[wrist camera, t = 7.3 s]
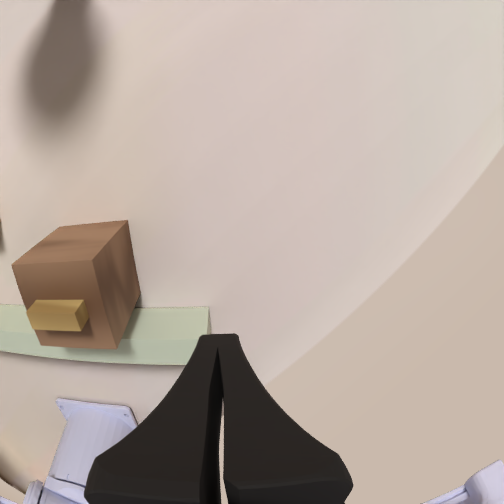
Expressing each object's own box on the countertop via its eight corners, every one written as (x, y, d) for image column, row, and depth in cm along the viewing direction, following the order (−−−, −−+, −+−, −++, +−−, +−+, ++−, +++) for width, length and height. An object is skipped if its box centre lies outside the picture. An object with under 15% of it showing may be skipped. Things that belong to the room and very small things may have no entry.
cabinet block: (141, 292, 20) (111, 364, 14) (76, 294, 20) (32, 358, 13) (128, 219, 18) (81, 271, 12) (59, 226, 18) (-1, 275, 11)
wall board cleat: (211, 330, 22) (209, 364, 18) (-41, 318, 20) (-59, 338, 17) (200, 180, 18) (194, 193, 15) (-73, 216, 16) (-97, 230, 13)
